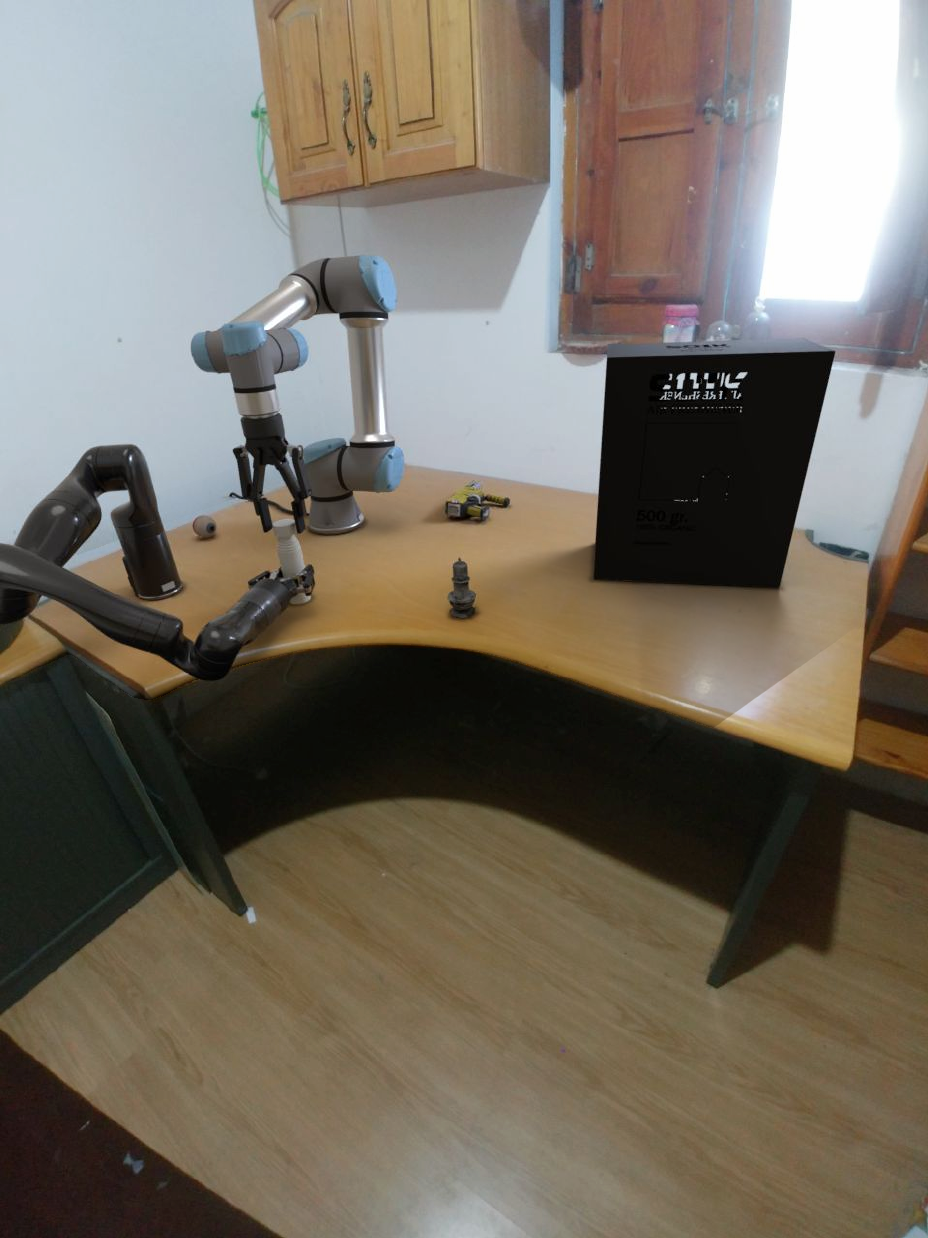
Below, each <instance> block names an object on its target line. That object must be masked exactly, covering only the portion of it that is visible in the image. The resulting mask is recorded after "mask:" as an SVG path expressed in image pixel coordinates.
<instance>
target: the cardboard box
mask: <svg viewBox="0 0 928 1238" xmlns="http://www.w3.org/2000/svg"><path fill="white" fill-rule="evenodd" d="M835 356H836V350H834V349H831V348H829V347H827V346H824V345H821V344H819V343H816V342H814V341H812V340H810V339H806V338H804V337H799V338H798V337H797V338H796V337H795V338H794V337H793V338H767V339H766V338H765V339H737V340H736V339H735V340H732V339H731V340H707V341H705V340H703V341H675V342H672V341H671V342H670V341H669V342H648V343H647V342H646V343H645V342H644V343H643V342H642V343H639V342H638V343H613V344H612V343H611V344H609V343H607V349H606V363H605V364H606V365H605V367H606V368H605V381H604V396H603V411H602V412H603V413H602V429H601V444H600V445H601V446H600V461H599V477H598V479H599V480H598V494H597V507H596V508H597V509H596V511H597V512H596V523H595V524H596V525H595V538H594V539H595V540H594V559H593V561H594V562H593V579H592V580H595V581H612V582H613V581H616V582H617V581H618V582H636V583H638V582H639V583H660V584H661V583H662V584H680V585H681V584H682V585H683V584H684V585H706V586H726V587H727V586H729V587H748V588H749V587H750V588H751V587H752V588H770V589H771V588H772V589H780V588H781V583H782V579H783V575H784V571H785V567H786V562H787V558H788V554H789V550H790V545H791V542H792V539H793V538H792V537H793V533H794V529H795V524H796V521H797V516H798V512H799V507H800V505H801V504H800V503H801V499H802V495H803V491H804V488H805V487H804V486H805V483H806V478H807V475H808V474H807V473H808V469H809V465H810V461H811V457H812V452H813V450H814V449H813V448H814V444H815V441H816V437H817V431H818V428H819V423H820V420H821V415H822V410H823V407H824V402H825V398H826V393H827V389H828V385H829V381H830V377H831V372H832V368H833V365H834V360H835ZM741 373H746V374H745V375H744V377H741V378H738V376H739V374H741ZM682 374H684V378H683V381H682V385H681V386H682V388H678V385H679V384H678V383H679V379H678V377H679V376H680V375H682ZM692 374H696V378H695V379H694V378H691V376H692ZM706 374H707V378H705V375H706ZM723 375H724V376H723ZM727 377H729V378H728V381H727V382H728V385H729V384H731V385H732V384H738V385H737V387H727V385H726V379H727ZM722 379H723V380H722ZM694 384H696V385H697V384H698V387H695V388H694ZM708 384H713V388H712V387H711V388H710V387H709V388H708ZM666 386H668V387H669V388H665V387H666Z"/></svg>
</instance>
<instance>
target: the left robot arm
mask: <svg viewBox="0 0 928 1238" xmlns="http://www.w3.org/2000/svg"><path fill="white" fill-rule="evenodd" d="M152 480H153V479H152V476H151V473H150V469H149V465H148V461H147V459H146V456H145V455H144V452H143V451H142V449H141V448H139V446H137V445H135V444H133V443H120V444H105V445H98V446H97V445H96V446H93V447H90V448H89V449H87V450H86V451H85V452H84V453H83V454H82V455H81V457H80V459H79V460H77V463H76V464H75V465H74V467H73V468H72V469H71V471H70V472H69V473H68V475H66V477H64V479H63V480H62V481H61V482H60V483H59V484H58V485H56V487H55V488H54V489H53V490H51V491H50V492H49V493H47V495H46V496H45V497H44V498H43V499H41V501H39V502H38V503H37V504H36V505H35V506H34V508H33V509H32V510H31V512H30V513H29V514H28V515H27V518H26V519H25V521H24V523H23V524H22V527H21V528H20V530H19V532H18V534H17V536H16V539H15V541H14V543H13V544H10V543H3V542H0V626H3V625H10V624H13V623H17V622H19V621H21V620H23V619H25V618H27V617H28V616H29V615H30V614H32V612H33V611H34V610H35V609H36V607H37V606H38V604H39V602H40V600H41V598H42V596H43V597H45V598H48V599H51V600H53V601H55V602H57V603H59V604H61V605H63V606H65V607H67V608H68V609H70V610H71V611H73V612H75V613H76V614H77V615H78V616H80V617H81V618H82V619H84V620H85V621H86V622H87V623H88V624H90V626H92V627H93V628H95V629H96V630H97V631H99V632H100V633H101V634H103V635H104V636H106V637H107V638H108V639H110V640H112V641H114V642H116V643H118V644H120V645H123V646H126V647H130V648H132V649H135V650H138V651H142V652H145V653H148V654H151V655H154V656H157V657H159V658H161V659H163V660H164V661H165V662H167V663H169V664H170V665H172V666H173V667H174V668H177V669H179V670H180V671H182V672H183V673H185V674H187V675H189V676H191V677H192V678H195V679H198V680H201V681H206V682H213V681H219V680H222V679H224V678H226V677H227V675H229V673H230V671H231V669H232V667H233V665H234V664H235V663H234V662H235V661H236V659H237V657H238V655H239V653H240V651H241V650H242V648H243V647H245V646H249V645H250V644H252V643H254V642H255V640H256V639H258V638H259V637H260V635H262V633H263V632H264V631H265V630H266V629H268V628H269V627H270V626H271V625H273V624H274V622H275V621H277V619H278V618H279V617H280V616H281V615H282V614H283V613H284V612H285V611H286V609H287V608H288V607H289V605H290V604H291V603H290V600H291V598H292V597H294V596H296V595H297V594H298V593H305V595H306V596H310V595H311V596H312V594H313V591H314V589H315V587H316V581H315V567H314V566H313V564H312V563H308V564H307V565H306V566H305V568H304V569H303V570H302V572H300V573H298V574H292V575H290V576H289V577H287V578H283V573H282V569H281V566H280V567H279V568H277V569H274V570H272V571H270V570H265V571H263V572H261V573H259V574H258V575H256V576H254V577H252V578H251V579H249V580H248V581H247V584H248V588H249V590H247V591H246V592H245V593H244V594H242V596H241V597H240V598H239V599H238V600H237V602H235V604H234V605H232V607H231V608H230V609H228V610H227V611H226V613H223V614H221V615H219V616H217V617H215V618H213V619H211V620H210V621H208V622H207V623H206V624H205V625H204V626H203V627H202V628H201V629H200V631H199V632H198V635H197V637H196V639H195V641H193V640H191V639H190V638H189V637H187V635H185V634H184V623H183V620H182V619H181V618H179V617H177V616H176V615H172V614H170V613H167V612H165V611H162V610H159V609H156V608H153V607H150V606H147V605H144V604H142V603H140V602H139V603H138V602H136V601H133V600H131V599H128V598H125V597H123V596H120V595H118V594H116V593H114V592H113V591H110V590H108V589H106V588H104V587H102V586H100V585H98V584H97V583H94V582H92V581H90V580H89V579H86V578H85V577H83V576H81V575H79V574H77V573H75V572H73V571H71V570H69V569H67V568H65V567H64V566H65V565H66V564H67V563H68V562H69V561H70V560H71V559H72V558H73V557H74V556H75V554H76V553H77V552H78V550H79V549H80V548H81V547H82V546H83V545H84V544H85V543H86V542H87V541H88V540H89V539H90V538H91V537H92V535H93V534H94V532H95V531H96V530H97V529H98V528H99V526H100V523H102V518H103V513H102V507H101V505H100V502H99V499H98V498H99V497H100V496H101V495H103V494H106V493H110V492H127V493H128V497H129V500H128V501H127V502H124V503H122V504H120V505H118V506H116V507H114V508H113V509H112V510H111V511H110V514H109V515H110V520H111V522H112V525H113V527H114V531H115V533H116V536H117V539H118V541H119V544H120V547H121V549H122V553H123V556H122V557H121V561H122V564H123V566H124V569H125V571H126V574H127V580H128V583H129V585H130V588H132V591H133V594H134V596H135V597H139V599H140V600H144V601H157V600H162V599H163V600H164V599H166V598H169V597H172V596H174V595H176V594H178V593H180V591H182V589H183V587H184V585H183V582H182V580H181V577H180V574H179V570H178V567H177V564H176V561H175V558H174V555H173V551H172V548H171V546H170V545H171V544H170V543H169V539H168V536H167V533H166V530H165V527H164V524H163V521H162V517H161V515H160V512H159V507H158V500H157V495H156V491H155V488H154V484H153V481H152ZM301 577H302V581H301V580H300V579H301Z"/></svg>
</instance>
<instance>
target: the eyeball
mask: <svg viewBox="0 0 928 1238" xmlns="http://www.w3.org/2000/svg"><path fill="white" fill-rule="evenodd" d="M192 529H193V532H194V533H195V534H196V535H197V536H198V537H201V538H210V537H212V536H214V535H215V533H216V531H217V523H216V521H215V520H214V519H213V518H212V517H211V516H208V515H204V514H203V515H199V516H197V517H196V518H195V519H194V520H193V521H192Z"/></svg>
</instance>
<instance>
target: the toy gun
mask: <svg viewBox="0 0 928 1238" xmlns="http://www.w3.org/2000/svg"><path fill="white" fill-rule="evenodd" d="M485 501H486V502H488V503H492V504H496V505H497V504H498V505H502V506H504V507H508V506H509V505H510V504H511V498H510V497H507V496H506V497H505V496H504V497H503V496H499V495H496V494H492V493H487V494H486V495H485V494H484V491H483V482H481V481H479V480H478V481H477V480H472V481H471V482H469V484H467V485H465V486H464V487H462V488H461V489H460V490H459V491H458V492H456V493H455V494H454V495H453V496H451V497H450V498H448V500H447V501H445V502H444V514H445V515H446V516H449V518H454V519H456V518H465V517H469V516H473V517H476V518H479V521H485V520H487V519H488V518H489V517H490V508H491V506H490V505H485V506H484V505H483V504H482V503H483V502H485Z"/></svg>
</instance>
